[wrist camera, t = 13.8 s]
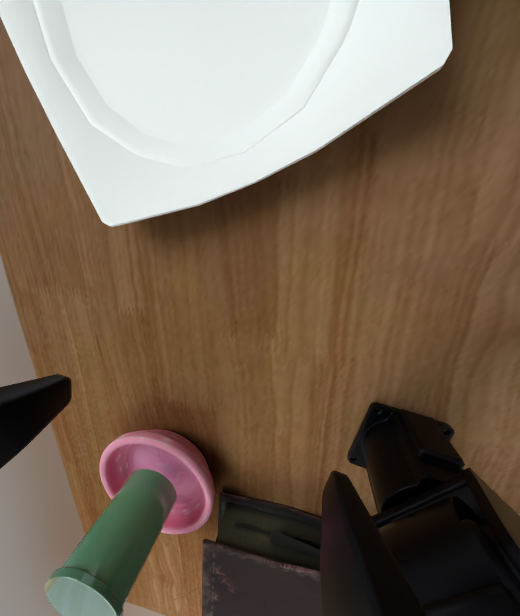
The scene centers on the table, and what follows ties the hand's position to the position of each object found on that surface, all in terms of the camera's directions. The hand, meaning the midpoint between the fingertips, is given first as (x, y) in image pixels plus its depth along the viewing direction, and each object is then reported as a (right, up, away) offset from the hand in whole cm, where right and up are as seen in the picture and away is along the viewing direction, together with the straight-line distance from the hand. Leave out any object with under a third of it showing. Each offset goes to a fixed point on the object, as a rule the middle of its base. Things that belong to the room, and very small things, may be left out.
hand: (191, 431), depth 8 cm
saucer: (-8, -13, +19) cm, 25 cm away
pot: (-8, -14, +16) cm, 23 cm away
